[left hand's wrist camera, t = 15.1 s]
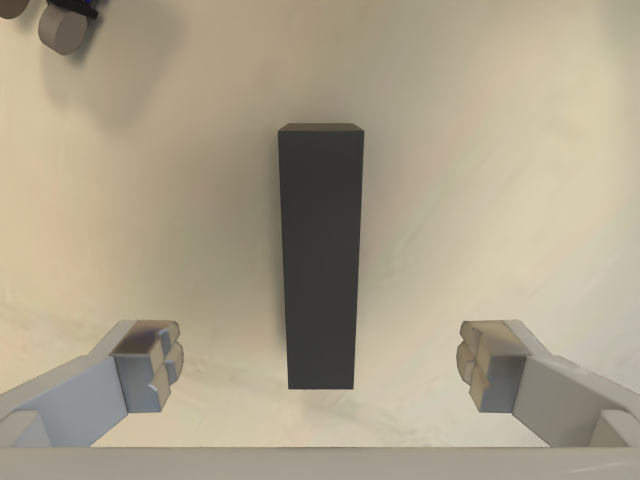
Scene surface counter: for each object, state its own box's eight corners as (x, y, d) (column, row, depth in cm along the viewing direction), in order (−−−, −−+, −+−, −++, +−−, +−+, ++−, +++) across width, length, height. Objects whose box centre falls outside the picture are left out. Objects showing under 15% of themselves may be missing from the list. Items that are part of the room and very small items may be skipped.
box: (288, 123, 33) (277, 130, 25) (353, 123, 33) (364, 130, 25) (294, 333, 41) (288, 389, 33) (346, 333, 41) (353, 389, 33)
